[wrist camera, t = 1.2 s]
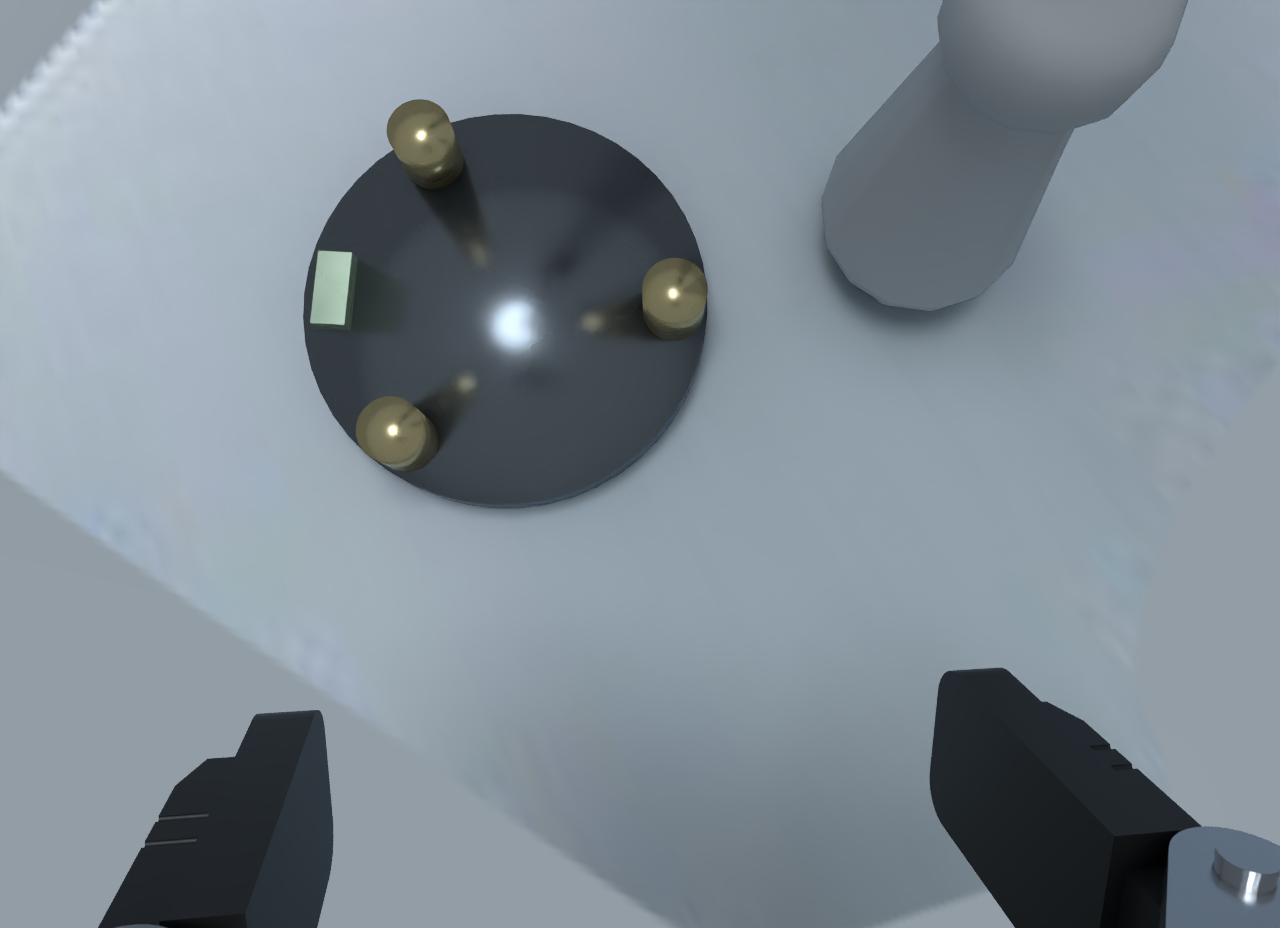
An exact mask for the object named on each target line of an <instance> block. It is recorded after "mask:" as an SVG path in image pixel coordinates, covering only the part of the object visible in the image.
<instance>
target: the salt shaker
mask: <svg viewBox="0 0 1280 928" xmlns="http://www.w3.org/2000/svg"><path fill="white" fill-rule="evenodd" d="M1187 3H1188V0H943V3H942V6H941V8H940V11H939V14H938V17H937V18H938V31H939V39H940V42H939V43H938V44H937V45H936V46H935V47H934V48H933V50H932V51H931V52H930V53H929V54H928V55H927V56H926V57H925V58H924V60H923V61H922V62H921V63H920V64H919V65H918V66H917V67H916V68H915V70H914V71H913V72H912V73H911V74H910V75H909V76H908V77H907V78H906V80H905V81H904V82H903V83H902V84H901V85H900V86H899V87H898V88H897V90H896V91H895V92H894V93H893V94H892V95H891V96H890V97H889V99H888V100H887V101H886V102H885V103H884V104H883V105H882V106H881V107H880V109H879V110H878V111H877V112H876V113H875V114H874V115H873V116H872V117H871V119H870V120H869V121H868V122H867V123H866V124H865V125H864V126H863V127H862V129H861V130H860V131H859V132H858V133H857V134H856V135H855V136H854V137H853V139H852V140H851V141H850V142H849V143H848V144H847V145H846V146H845V147H844V149H843V150H842V151H841V152H840V153H839V154H838V155H837V157H836V160H835V162H834V165H833V168H832V171H831V174H830V176H829V179H828V182H827V185H826V187H825V190H824V193H823V196H822V213H823V222H824V231H825V240H826V247H827V248H828V250H829V251H830V253H831V254H832V256H833V257H834V259H835V260H836V262H837V263H838V265H839V266H840V268H841V269H842V271H843V272H844V274H845V276H846V277H847V279H848V280H849V282H850V283H852V284H854V285H855V286H857V287H858V288H860V289H862V290H863V291H865V292H866V293H868V294H870V295H871V296H873V297H874V298H875V299H876V300H877V301H878V302H879V303H880V304H884V305H887V306H895V307H902V308H910V309H918V310H925V311H934V310H937V309H940V308H944V307H947V306H950V305H953V304H956V303H960V302H963V301H966V300H969V299H972V298H975V297H977V296H979V295H981V294H982V293H983V292H984V291H985V290H986V289H987V288H988V287H989V286H990V285H991V284H992V283H993V282H994V281H995V280H996V279H997V278H998V277H999V276H1000V275H1001V274H1003V273H1004V272H1005V271H1006V270H1007V269H1008V268H1009V267H1010V266H1011V265H1012V264H1013V262H1014V260H1015V257H1016V255H1017V253H1018V251H1019V248H1020V246H1021V244H1022V242H1023V239H1024V237H1025V235H1026V233H1027V231H1028V228H1029V226H1030V224H1031V222H1032V219H1033V217H1034V215H1035V213H1036V210H1037V208H1038V206H1039V204H1040V202H1041V199H1042V197H1043V195H1044V193H1045V190H1046V188H1047V186H1048V184H1049V182H1050V179H1051V177H1052V175H1053V173H1054V170H1055V168H1056V166H1057V164H1058V161H1059V159H1060V157H1061V155H1062V153H1063V150H1064V148H1065V146H1066V144H1067V142H1068V140H1069V138H1070V136H1071V134H1072V132H1073V130H1074V128H1077V127H1081V126H1084V125H1087V124H1091V123H1094V122H1097V121H1100V120H1103V119H1105V118H1108V117H1109V116H1110V115H1111V114H1112V113H1113V112H1114V111H1116V110H1117V109H1118V108H1119V107H1120V106H1121V105H1122V104H1123V103H1124V102H1125V101H1126V100H1127V99H1128V98H1129V97H1130V96H1131V95H1132V94H1133V93H1134V92H1135V91H1136V90H1138V89H1139V88H1140V87H1141V86H1142V85H1143V84H1144V83H1145V82H1146V81H1147V80H1148V79H1149V78H1150V77H1151V76H1152V75H1153V74H1154V73H1155V72H1156V71H1157V70H1158V69H1159V68H1160V67H1161V65H1162V63H1163V62H1164V60H1165V58H1166V56H1167V54H1168V53H1169V51H1170V49H1171V47H1172V46H1173V44H1174V41H1175V38H1176V35H1177V32H1178V29H1179V26H1180V23H1181V20H1182V17H1183V14H1184V11H1185V8H1186V5H1187Z"/></svg>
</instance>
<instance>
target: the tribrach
mask: <svg viewBox="0 0 1280 928" xmlns="http://www.w3.org/2000/svg"><path fill="white" fill-rule="evenodd" d="M387 136H388V140H389V142H390V144H391V146H392V148H393V149H394V150H392V151H391V152H390V153H388V154H387V155H385V156H384V157H383V158H381V159H380V160H378V161H377V162H376V163H375V164H374V165H373V166H372V167H371V168H369V169H368V170H367V171H366V172H365V173H364V174H363V175H362V176H361V177H360V178H359V179H358V180H357V181H356V182H355V183H354V185H353V186H352V187H351V188H350V189H349V190H348V192H347V193H346V194H345V195H344V196H343V198H342V199H341V200H340V202H339V204H338V205H337V207H336V208H335V210H334V211H333V213H332V214H331V216H330V218H329V219H328V221H327V223H326V225H325V227H324V229H323V231H322V233H321V236H320V238H319V240H318V242H317V244H316V247H315V251H314V254H313V257H312V260H311V263H310V266H309V270H308V276H307V281H306V287H305V292H304V314H303V320H304V331H305V342H306V347H307V352H308V356H309V360H310V365H311V369H312V371H313V374H314V376H315V379H316V382H317V384H318V387H319V390H320V392H321V394H322V396H323V398H324V399H325V401H326V403H327V405H328V407H329V409H330V410H331V412H332V414H333V416H334V417H335V418H336V420H337V421H338V422H339V424H340V425H341V426H342V428H343V429H344V430H345V432H346V433H347V434H348V436H349V437H350V438H351V439H352V440H353V441H354V442H355V443H356V444H357V445H358V446H359V447H360V448H361V449H362V450H363V451H364V452H365V453H366V454H367V455H368V456H370V457H371V458H372V459H374V460H375V461H376V462H378V463H379V464H380V465H381V466H383V467H384V468H385V469H387V470H388V471H390V472H392V473H393V474H395V475H397V476H399V477H400V478H402V479H404V480H405V481H407V482H409V483H411V484H413V485H414V486H416V487H418V488H420V489H422V490H425V491H427V492H430V493H432V494H435V495H437V496H440V497H442V498H445V499H449V500H452V501H456V502H460V503H464V504H468V505H474V506H483V507H491V508H524V507H531V506H538V505H545V504H550V503H553V502H557V501H561V500H564V499H568V498H571V497H574V496H577V495H579V494H581V493H584V492H586V491H589V490H591V489H593V488H596V487H598V486H599V485H601V484H603V483H605V482H606V481H608V480H610V479H611V478H613V477H615V476H617V475H618V474H620V473H621V472H622V471H624V470H625V469H626V468H628V467H629V466H630V465H631V464H633V463H634V462H635V461H637V460H638V459H639V458H640V457H641V456H642V455H643V454H644V453H645V452H646V451H647V450H648V449H649V448H650V447H651V446H652V445H653V444H654V443H655V442H656V441H657V440H658V439H659V438H660V437H661V435H662V434H663V433H664V431H665V430H666V429H667V427H668V426H669V425H670V423H671V422H672V421H673V419H674V418H675V416H676V414H677V413H678V411H679V409H680V407H681V406H682V404H683V402H684V400H685V399H686V397H687V394H688V392H689V389H690V387H691V384H692V382H693V379H694V377H695V374H696V371H697V367H698V363H699V359H700V355H701V351H702V347H703V342H704V335H705V326H706V318H707V291H708V290H707V282H706V278H705V275H704V268H703V262H702V259H701V256H700V252H699V249H698V246H697V242H696V239H695V237H694V234H693V232H692V230H691V228H690V226H689V223H688V221H687V219H686V217H685V215H684V213H683V212H682V210H681V209H680V207H679V205H678V204H677V202H676V201H675V199H674V197H673V196H672V194H671V193H670V192H669V191H668V189H667V188H666V187H665V186H664V185H663V183H662V182H661V181H660V180H659V179H658V177H657V176H656V175H655V174H654V173H653V172H652V171H651V170H649V169H648V168H647V167H646V166H645V165H644V164H643V163H642V162H641V161H640V160H639V159H638V158H636V157H635V156H633V155H632V154H631V153H629V152H628V151H626V150H625V149H623V148H622V147H621V146H619V145H618V144H616V143H614V142H613V141H611V140H609V139H607V138H605V137H603V136H601V135H599V134H597V133H595V132H593V131H591V130H588V129H585V128H583V127H580V126H577V125H575V124H572V123H569V122H564V121H560V120H556V119H552V118H548V117H541V116H532V115H523V114H502V115H488V116H481V117H473V118H468V119H464V120H460V121H456V122H452V123H450V121H449V119H448V116H447V114H446V113H445V111H444V110H443V109H442V108H441V107H440V106H439V105H437V104H435V103H434V102H431V101H428V100H412V101H408V102H406V103H404V104H402V105H401V106H399V107H398V108H397V109H396V110H395V111H394V112H393V113H392V115H391V116H390V118H389V121H388V124H387Z"/></svg>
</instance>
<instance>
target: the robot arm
mask: <svg viewBox="0 0 1280 928" xmlns="http://www.w3.org/2000/svg"><path fill="white" fill-rule="evenodd" d="M930 790H931V796H932V800H933V804H934V808H935V811H936V813H937V816H938V818H939V820H940V822H941V824H942V825H943V827H944V828H945V830H946V831H947V832H948V834H949V835H950V837H951V838H952V839H953V841H954V842H955V844H956V845H957V846H958V848H959V849H960V851H961V852H962V853H963V855H964V856H965V858H966V859H967V861H968V862H969V863H970V865H971V866H972V868H973V869H974V870H975V872H976V873H977V875H978V876H979V877H980V879H981V880H982V882H983V883H984V885H985V886H986V887H987V889H988V890H989V892H990V893H991V894H992V896H993V897H994V899H995V900H996V901H997V903H998V904H999V906H1000V907H1001V908H1002V910H1003V911H1004V913H1005V914H1006V916H1007V917H1008V918H1009V920H1010V921H1011V923H1012V924H1013V925H1014V927H1015V928H1280V846H1278V845H1276V844H1274V843H1272V842H1270V841H1268V840H1265V839H1263V838H1260V837H1257V836H1254V835H1252V834H1248V833H1245V832H1242V831H1237V830H1233V829H1227V828H1221V827H1202V826H1201V825H1199V824H1198V823H1197V822H1196V821H1195V820H1194V819H1193V818H1192V817H1191V816H1190V815H1188V814H1187V813H1186V812H1185V811H1184V810H1183V809H1182V808H1181V807H1179V806H1178V805H1177V804H1176V803H1175V802H1174V801H1173V800H1171V799H1170V798H1169V797H1168V796H1167V795H1166V794H1165V793H1164V792H1163V791H1162V790H1160V789H1159V788H1158V787H1157V786H1156V785H1155V784H1154V783H1153V782H1152V781H1150V780H1149V779H1148V778H1147V777H1146V776H1145V775H1144V774H1143V773H1141V772H1140V771H1139V770H1138V769H1133V768H1132V764H1131V763H1130V762H1129V761H1128V760H1127V759H1126V758H1125V757H1124V756H1122V755H1121V754H1120V753H1119V752H1118V751H1117V750H1116V749H1111V748H1110V744H1109V743H1108V742H1107V741H1106V740H1105V739H1103V738H1102V737H1101V736H1100V735H1099V734H1098V733H1097V732H1096V731H1094V730H1093V729H1092V728H1091V727H1090V726H1089V725H1088V724H1087V723H1085V722H1084V721H1083V720H1081V719H1079V718H1077V717H1075V716H1073V715H1071V714H1069V713H1067V712H1065V711H1064V710H1062V709H1060V708H1058V707H1056V706H1054V705H1052V704H1050V703H1048V702H1041V701H1040V700H1039V699H1038V698H1037V697H1036V696H1035V695H1034V694H1033V693H1031V692H1030V691H1029V690H1028V689H1027V688H1026V687H1025V686H1024V685H1023V684H1022V683H1021V682H1020V681H1019V680H1017V679H1016V678H1015V677H1014V676H1013V675H1012V674H1011V673H1010V672H1009V671H1007V670H1006V669H1004V668H987V669H971V670H956V671H948V672H946V673H945V674H944V675H943V676H942V678H941V680H940V684H939V689H938V697H937V707H936V717H935V727H934V737H933V747H932V757H931V767H930ZM332 854H333V816H332V806H331V794H330V784H329V772H328V761H327V749H326V738H325V728H324V721H323V717H322V714H321V712H320V711H319V710H311V711H297V712H279V713H264V714H256V715H255V716H254V718H253V720H252V722H251V724H250V726H249V728H248V730H247V733H246V735H245V737H244V739H243V741H242V743H241V745H240V748H239V750H238V752H237V754H236V756H235V757H228V758H213V759H207V760H206V761H205V762H203V763H202V764H201V765H200V766H198V767H197V768H196V769H195V770H194V771H193V772H191V773H190V774H189V775H188V776H187V777H185V778H184V779H183V780H182V781H180V782H179V783H178V784H177V785H176V786H175V787H174V789H173V791H172V793H171V794H170V796H169V798H168V800H167V802H166V804H165V805H164V808H163V809H162V811H161V813H160V815H159V821H158V822H155V824H154V826H153V828H152V830H151V831H150V833H149V835H148V837H147V839H146V840H145V847H144V848H141V850H140V852H139V853H138V855H137V857H136V859H135V861H134V863H133V864H132V866H131V868H130V870H129V872H128V874H127V875H126V877H125V879H124V881H123V883H122V885H121V887H120V889H119V890H118V892H117V894H116V896H115V898H114V899H113V902H112V903H111V905H110V907H109V909H108V910H107V912H106V914H105V916H104V918H103V920H102V922H101V923H100V925H99V927H98V928H317V926H318V922H319V917H320V913H321V909H322V905H323V901H324V897H325V892H326V889H327V884H328V880H329V876H330V871H331V863H332Z"/></svg>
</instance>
